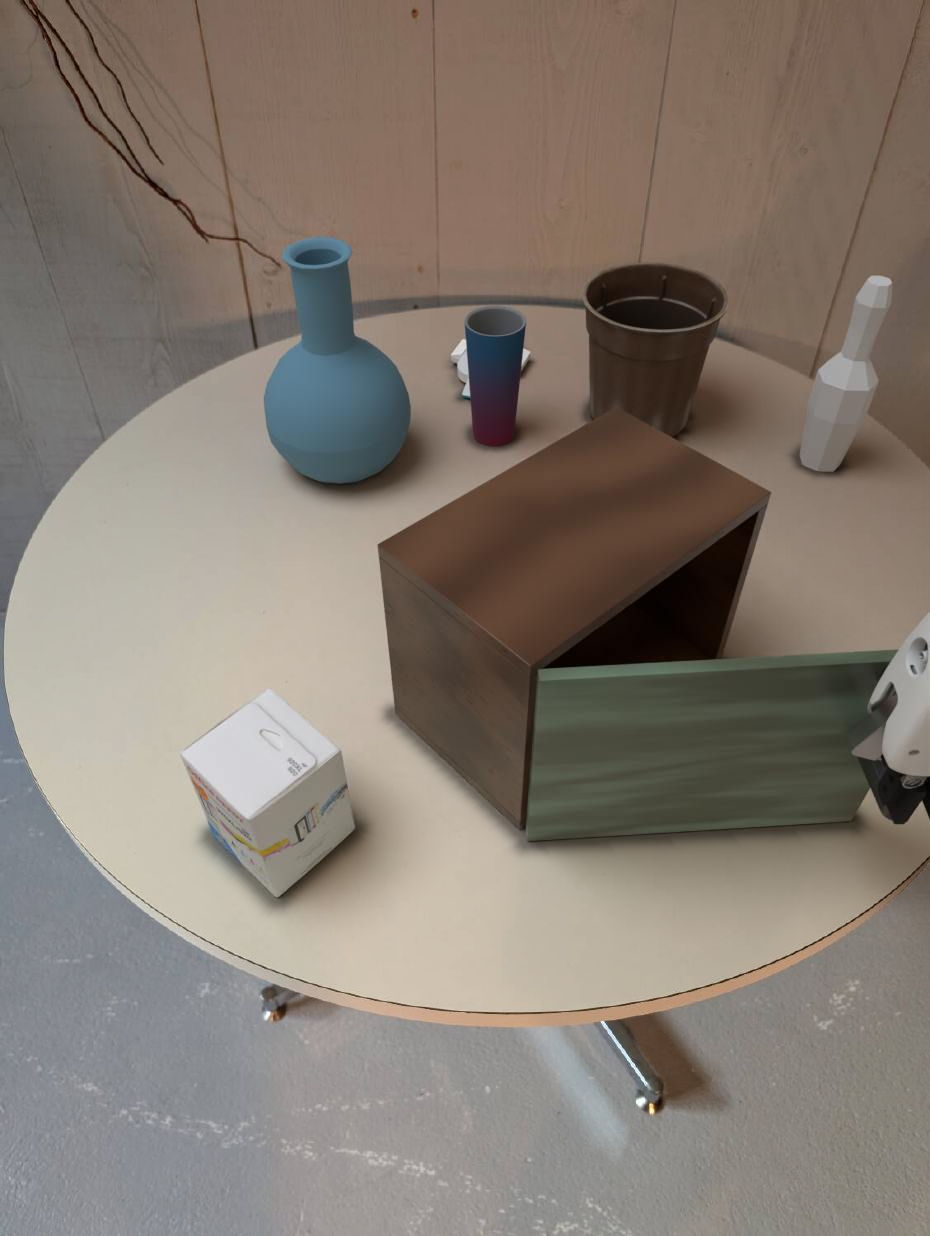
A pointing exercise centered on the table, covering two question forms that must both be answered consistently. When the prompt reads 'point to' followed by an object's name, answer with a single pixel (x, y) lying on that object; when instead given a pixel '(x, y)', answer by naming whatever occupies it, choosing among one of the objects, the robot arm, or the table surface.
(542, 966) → the table surface
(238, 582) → the table surface
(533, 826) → the cupboard door
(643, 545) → the cupboard
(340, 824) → the ink box
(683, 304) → the plant pot
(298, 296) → the vase
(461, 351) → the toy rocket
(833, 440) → the low poly bottle
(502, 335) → the cup
